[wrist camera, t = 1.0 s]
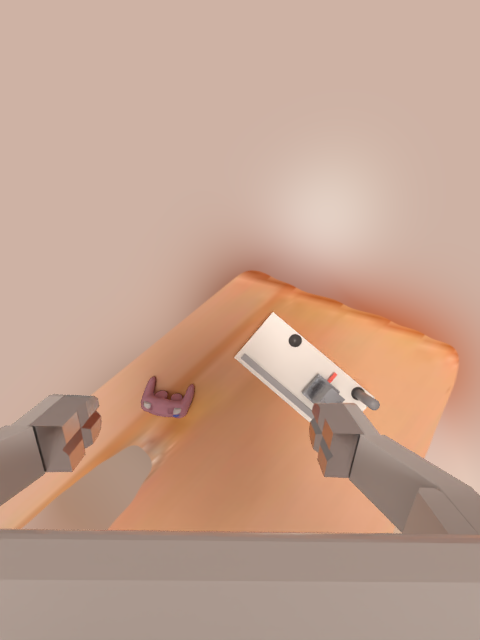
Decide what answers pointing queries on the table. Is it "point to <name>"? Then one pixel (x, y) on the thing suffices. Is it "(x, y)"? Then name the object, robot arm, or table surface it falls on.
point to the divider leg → (322, 390)
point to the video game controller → (166, 401)
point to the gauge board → (295, 367)
